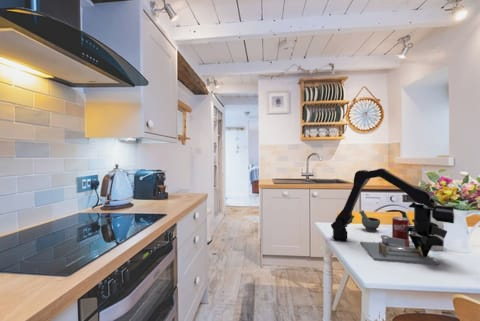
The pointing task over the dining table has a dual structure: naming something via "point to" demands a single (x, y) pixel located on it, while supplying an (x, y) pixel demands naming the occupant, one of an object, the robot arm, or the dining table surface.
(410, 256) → the flat gray base plate
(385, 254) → the eye staple
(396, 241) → the ball-ended metal rod
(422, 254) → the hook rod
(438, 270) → the dining table surface
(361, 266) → the dining table surface
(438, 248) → the milk bottle
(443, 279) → the dining table surface
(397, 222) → the soda can
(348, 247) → the dining table surface
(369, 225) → the mortar and pestle
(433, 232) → the robot arm
